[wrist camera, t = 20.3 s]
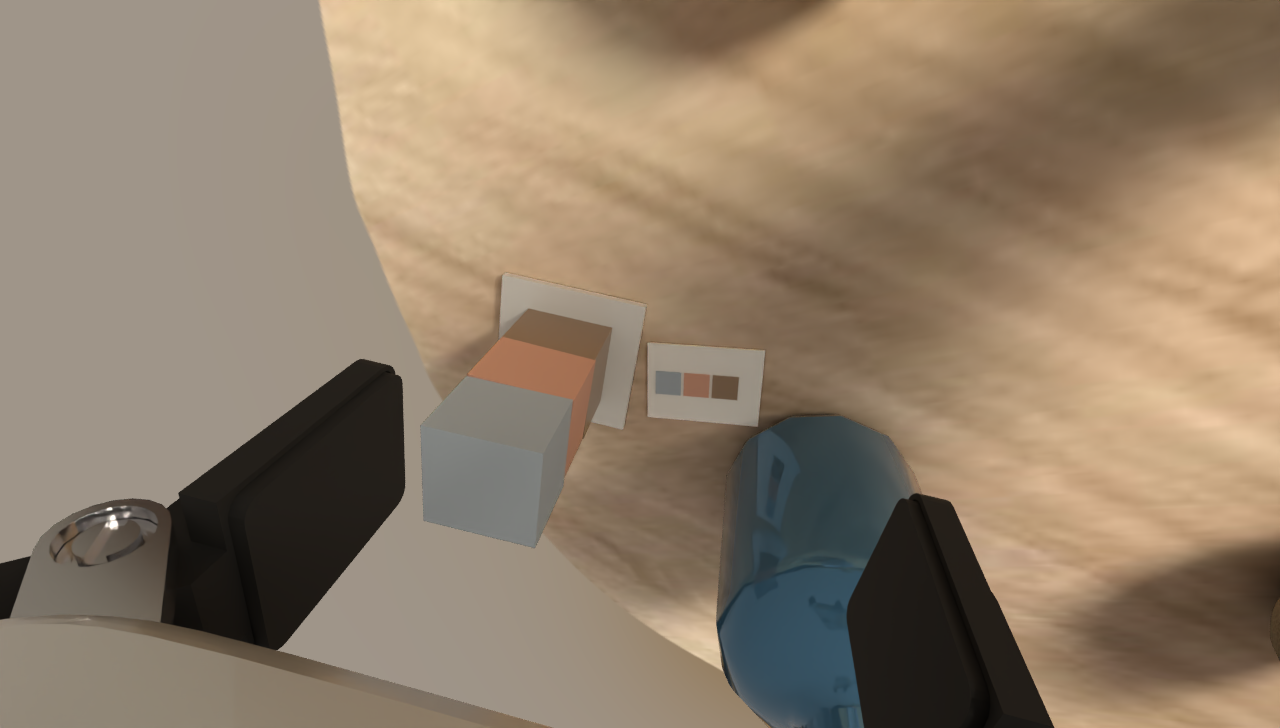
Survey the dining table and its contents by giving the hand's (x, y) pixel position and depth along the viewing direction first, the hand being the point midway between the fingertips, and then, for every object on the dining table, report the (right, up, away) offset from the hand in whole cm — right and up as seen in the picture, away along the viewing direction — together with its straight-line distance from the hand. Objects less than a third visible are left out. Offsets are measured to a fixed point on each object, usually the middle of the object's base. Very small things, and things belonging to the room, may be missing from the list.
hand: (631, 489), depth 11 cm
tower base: (-5, +3, +32) cm, 32 cm away
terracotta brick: (-6, +1, +27) cm, 27 cm away
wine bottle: (+13, -6, +33) cm, 36 cm away
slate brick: (-7, -2, +22) cm, 23 cm away
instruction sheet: (+5, +1, +31) cm, 31 cm away
